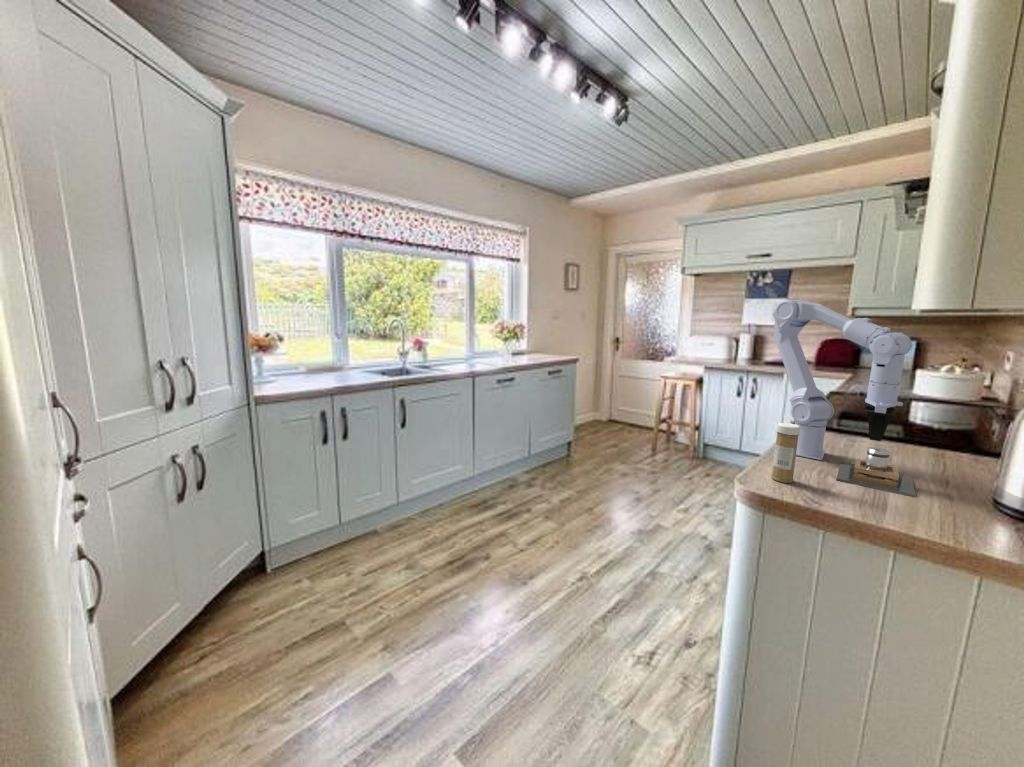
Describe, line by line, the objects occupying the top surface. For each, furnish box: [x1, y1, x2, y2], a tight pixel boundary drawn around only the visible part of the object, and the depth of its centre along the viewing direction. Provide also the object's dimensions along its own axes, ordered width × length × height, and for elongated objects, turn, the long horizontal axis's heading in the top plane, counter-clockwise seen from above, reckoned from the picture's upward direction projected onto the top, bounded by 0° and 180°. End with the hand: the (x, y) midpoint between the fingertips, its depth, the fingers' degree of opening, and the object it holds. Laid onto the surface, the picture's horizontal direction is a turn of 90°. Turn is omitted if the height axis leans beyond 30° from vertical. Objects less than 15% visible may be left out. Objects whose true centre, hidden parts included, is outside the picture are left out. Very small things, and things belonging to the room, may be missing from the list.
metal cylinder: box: [864, 446, 891, 479], centre depth 105 cm, size 4×4×7 cm
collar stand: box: [836, 459, 916, 498], centre depth 106 cm, size 14×14×3 cm
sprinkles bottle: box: [770, 422, 800, 484], centre depth 103 cm, size 5×5×13 cm
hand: (875, 437), depth 109 cm, fingers open, 7 cm apart
